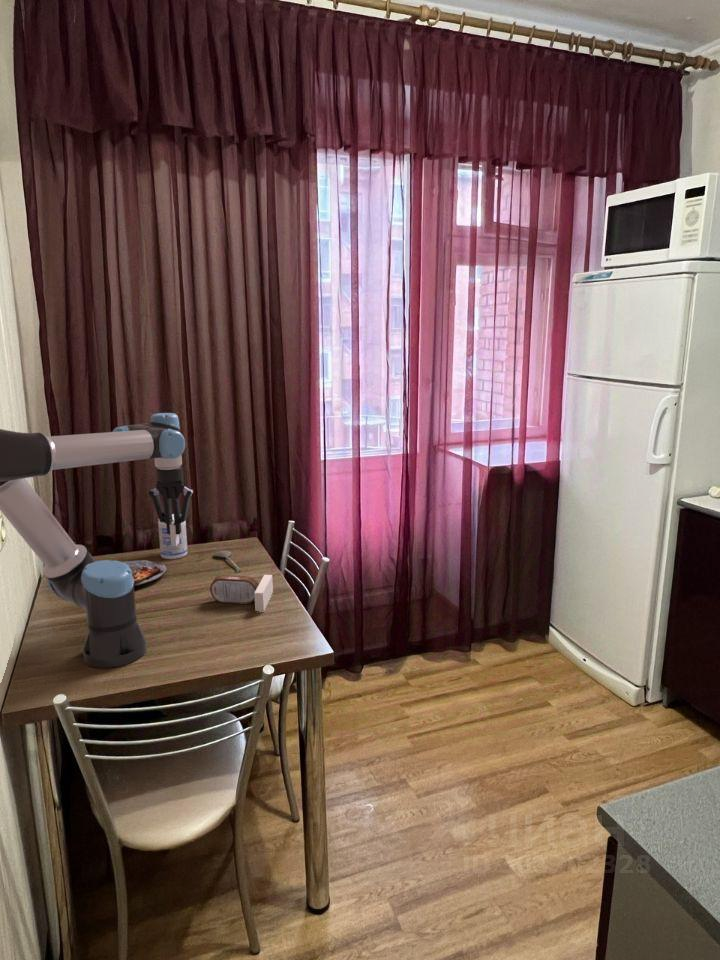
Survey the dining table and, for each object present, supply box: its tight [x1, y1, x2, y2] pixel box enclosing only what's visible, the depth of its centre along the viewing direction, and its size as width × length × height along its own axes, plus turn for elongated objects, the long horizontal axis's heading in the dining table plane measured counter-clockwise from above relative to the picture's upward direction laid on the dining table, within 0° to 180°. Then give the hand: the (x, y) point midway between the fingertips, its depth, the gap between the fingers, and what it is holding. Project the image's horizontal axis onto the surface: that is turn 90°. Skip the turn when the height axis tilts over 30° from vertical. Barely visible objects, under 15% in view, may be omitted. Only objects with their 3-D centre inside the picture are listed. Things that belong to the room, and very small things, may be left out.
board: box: [254, 574, 274, 613], centre depth 190 cm, size 14×2×6 cm, turn 177°
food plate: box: [122, 559, 168, 587], centre depth 211 cm, size 25×23×4 cm
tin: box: [209, 574, 260, 605], centre depth 190 cm, size 15×3×8 cm, turn 82°
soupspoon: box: [212, 549, 242, 573], centre depth 225 cm, size 22×3×7 cm
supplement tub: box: [157, 513, 188, 560], centre depth 231 cm, size 10×10×15 cm
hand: (175, 544), depth 188 cm, fingers closed
